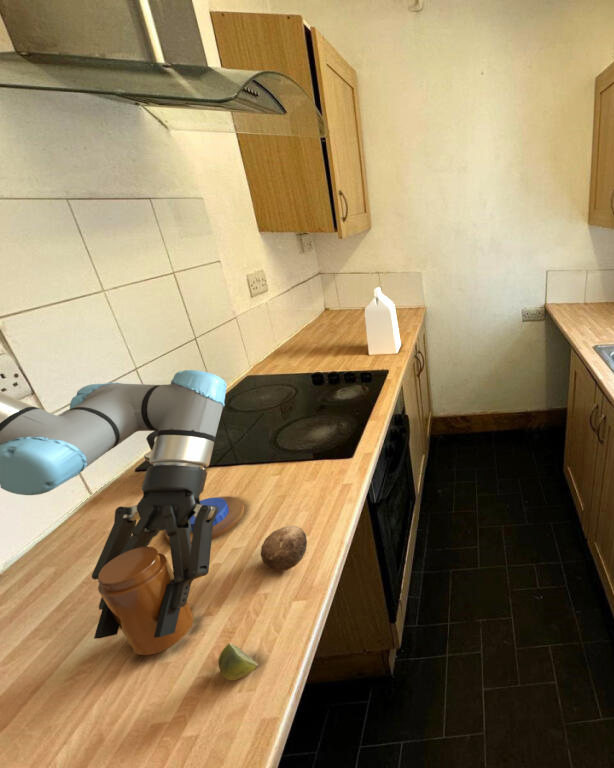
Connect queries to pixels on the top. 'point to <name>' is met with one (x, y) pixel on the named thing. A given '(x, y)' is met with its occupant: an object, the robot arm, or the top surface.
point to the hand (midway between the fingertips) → (135, 635)
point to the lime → (235, 663)
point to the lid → (221, 512)
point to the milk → (382, 325)
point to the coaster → (226, 518)
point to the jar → (141, 598)
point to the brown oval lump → (284, 548)
